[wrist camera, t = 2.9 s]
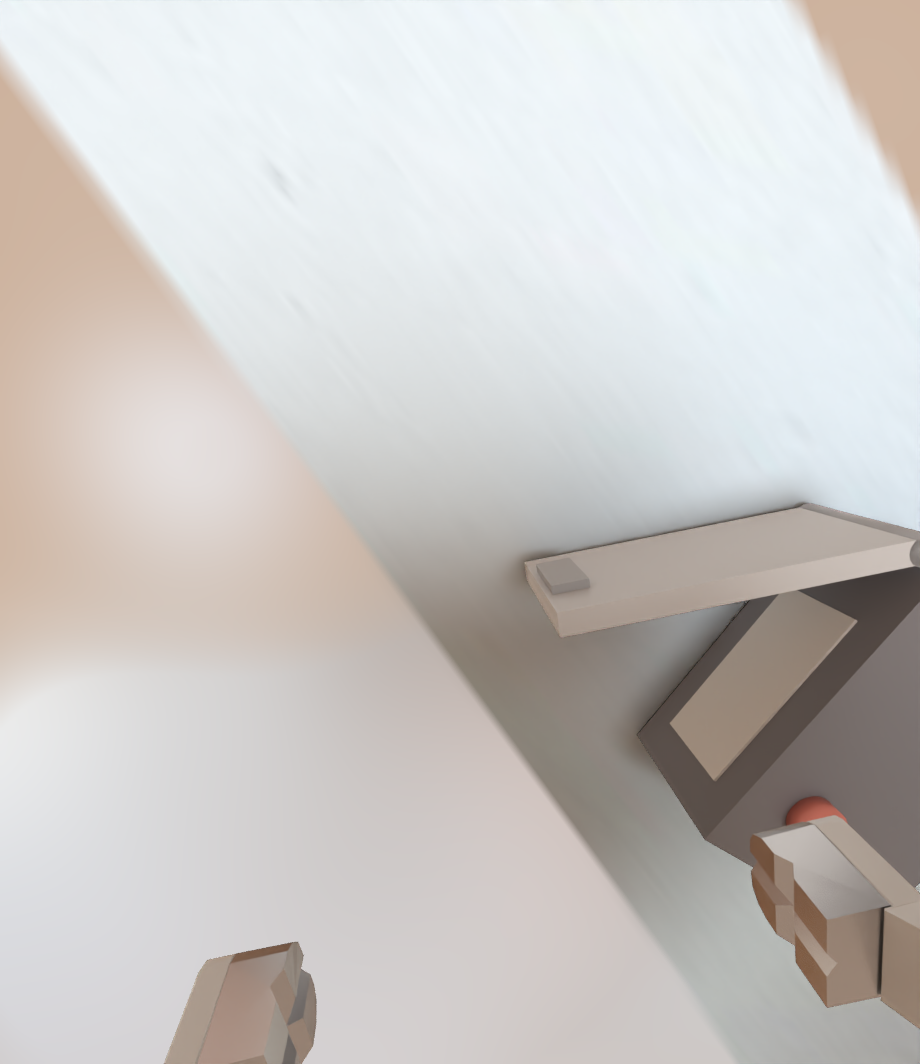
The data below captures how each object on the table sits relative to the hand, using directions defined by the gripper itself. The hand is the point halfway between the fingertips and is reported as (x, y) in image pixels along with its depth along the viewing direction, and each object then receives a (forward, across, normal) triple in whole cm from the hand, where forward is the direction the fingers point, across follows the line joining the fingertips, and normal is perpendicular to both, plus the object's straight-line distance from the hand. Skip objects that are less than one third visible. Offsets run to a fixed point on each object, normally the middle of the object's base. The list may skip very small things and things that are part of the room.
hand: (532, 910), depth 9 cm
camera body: (+11, -13, +5) cm, 18 cm away
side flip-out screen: (+11, -8, -2) cm, 14 cm away
